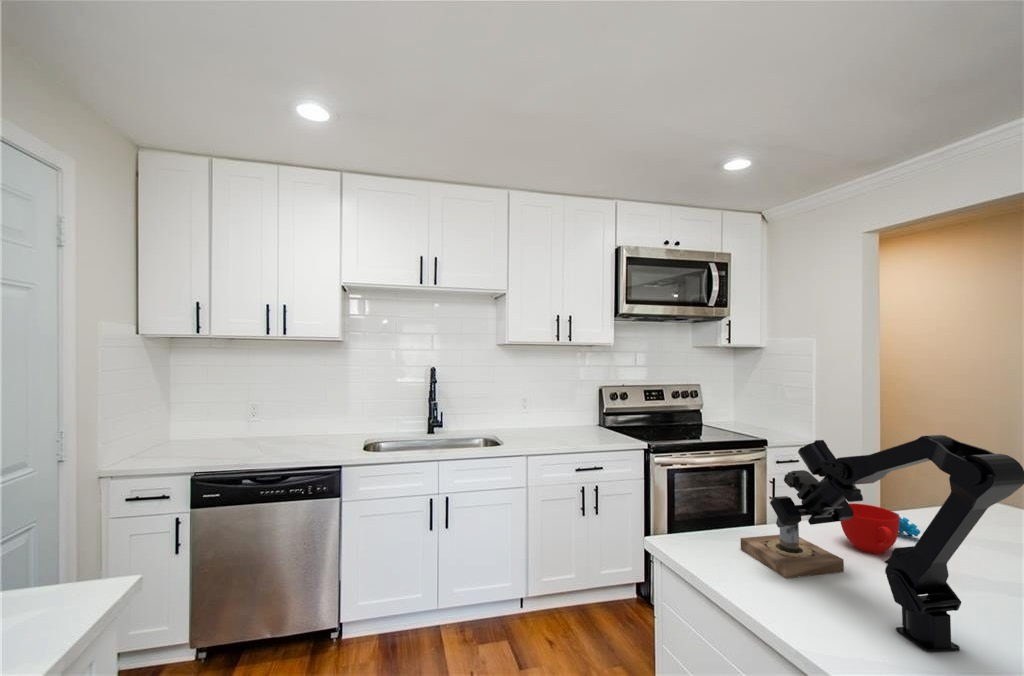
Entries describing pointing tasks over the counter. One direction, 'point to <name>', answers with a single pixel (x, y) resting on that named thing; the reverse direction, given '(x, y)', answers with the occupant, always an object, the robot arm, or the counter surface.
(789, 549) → the steel roller
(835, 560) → the bearing housing
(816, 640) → the counter surface
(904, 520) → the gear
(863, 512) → the ceramic cup
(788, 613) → the counter surface
